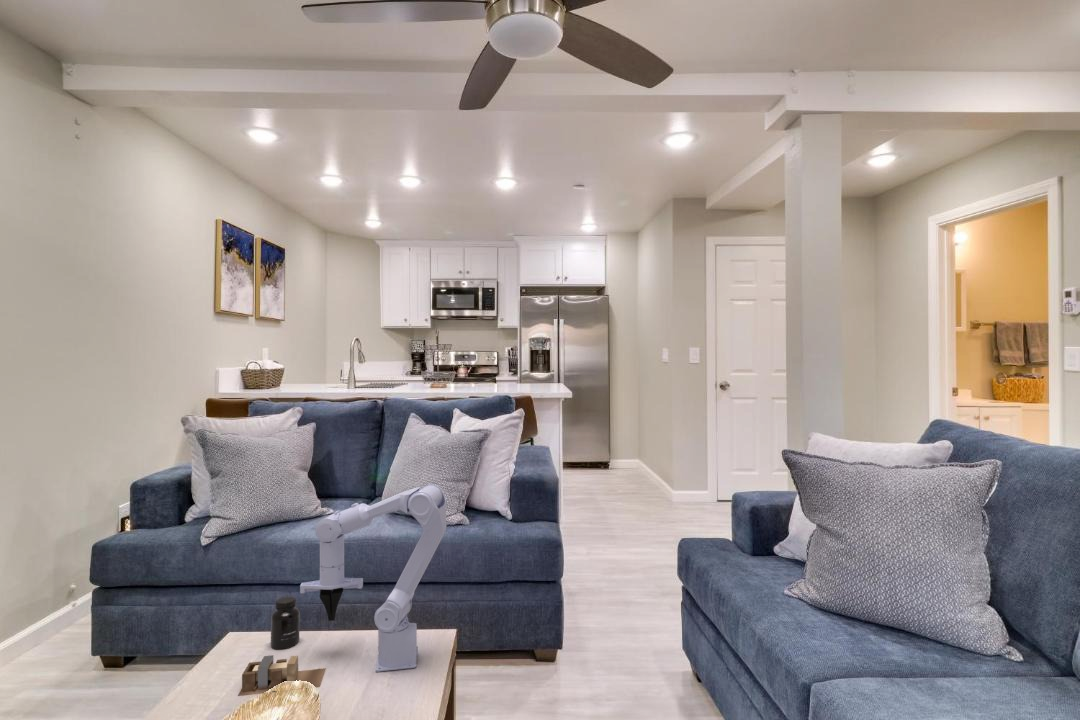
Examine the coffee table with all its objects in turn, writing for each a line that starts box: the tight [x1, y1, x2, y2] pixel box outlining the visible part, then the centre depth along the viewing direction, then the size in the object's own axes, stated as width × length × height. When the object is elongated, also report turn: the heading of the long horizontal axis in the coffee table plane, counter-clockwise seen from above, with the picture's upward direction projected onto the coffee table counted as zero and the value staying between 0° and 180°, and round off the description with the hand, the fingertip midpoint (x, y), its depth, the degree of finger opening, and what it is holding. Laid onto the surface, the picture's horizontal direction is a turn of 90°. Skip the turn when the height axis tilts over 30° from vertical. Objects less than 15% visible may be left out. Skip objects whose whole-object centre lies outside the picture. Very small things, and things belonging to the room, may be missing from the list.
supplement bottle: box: [270, 596, 301, 651], centre depth 146 cm, size 7×7×12 cm
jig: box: [237, 658, 327, 697], centre depth 128 cm, size 17×8×5 cm, turn 102°
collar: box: [258, 654, 275, 690], centre depth 128 cm, size 2×5×5 cm, turn 12°
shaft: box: [253, 655, 299, 681], centre depth 128 cm, size 9×4×4 cm, turn 102°
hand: (331, 618), depth 140 cm, fingers closed
